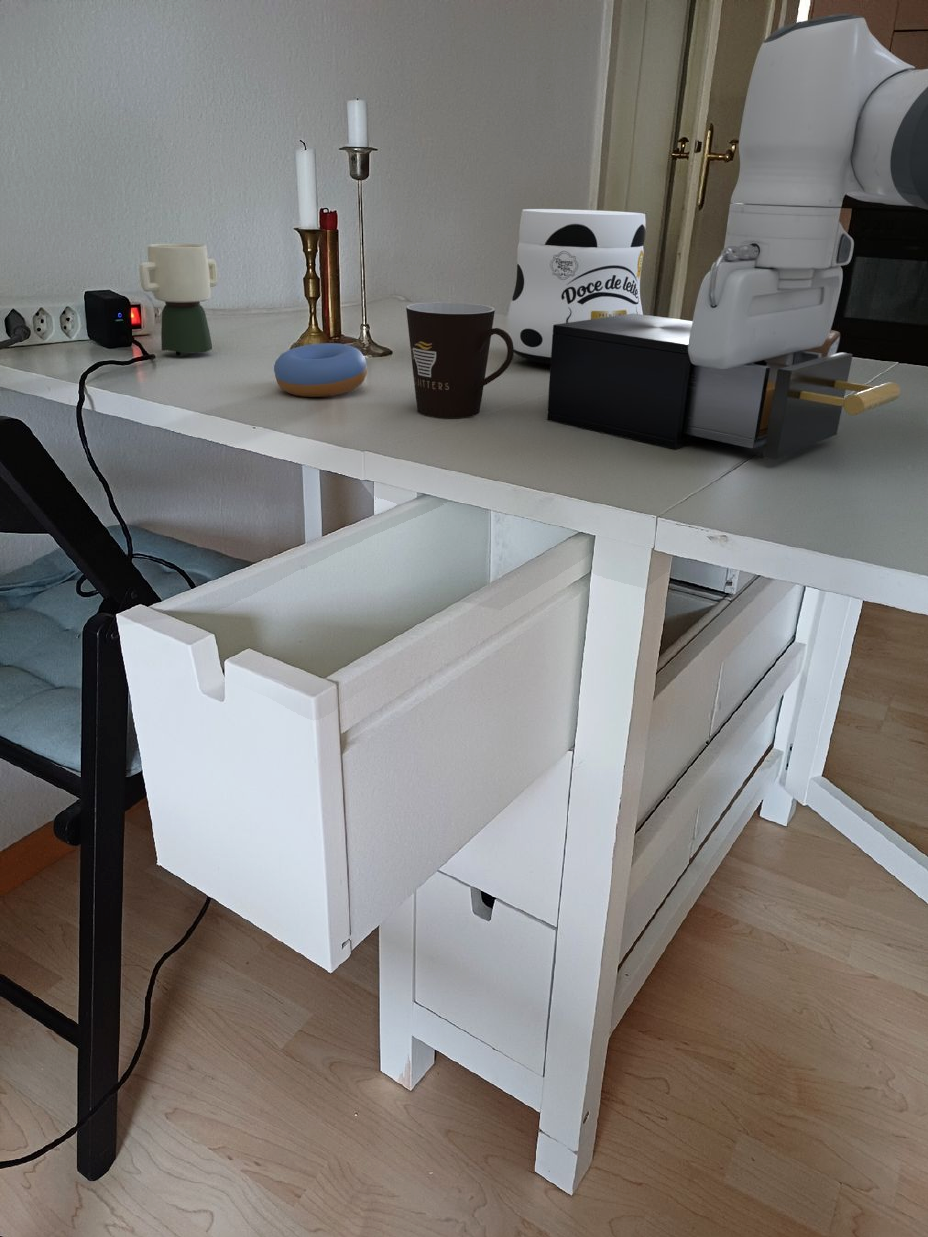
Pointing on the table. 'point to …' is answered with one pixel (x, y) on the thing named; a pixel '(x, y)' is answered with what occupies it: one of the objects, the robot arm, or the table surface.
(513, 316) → the milk container
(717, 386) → the drawer with wooden handle
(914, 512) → the table surface
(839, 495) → the table surface
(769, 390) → the tan block
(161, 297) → the character mug
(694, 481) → the table surface
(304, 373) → the doughnut
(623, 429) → the black drawer box
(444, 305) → the coffee mug
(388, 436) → the table surface
